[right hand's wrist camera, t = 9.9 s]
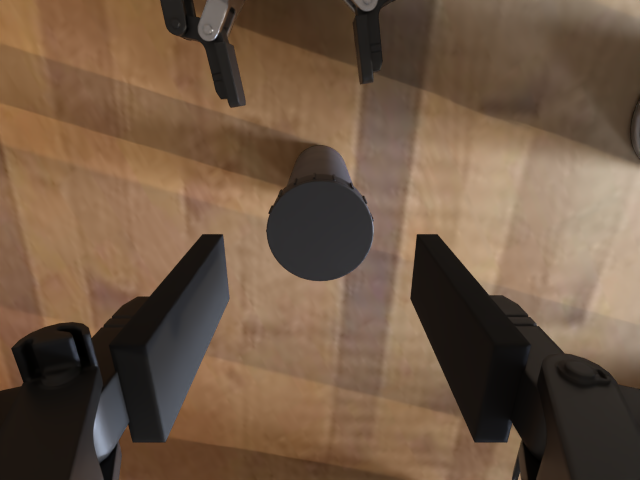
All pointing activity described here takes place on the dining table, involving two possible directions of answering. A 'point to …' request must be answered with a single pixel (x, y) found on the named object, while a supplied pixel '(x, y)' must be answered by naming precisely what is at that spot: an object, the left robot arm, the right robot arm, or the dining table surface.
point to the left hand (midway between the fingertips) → (301, 95)
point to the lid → (320, 227)
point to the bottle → (320, 163)
